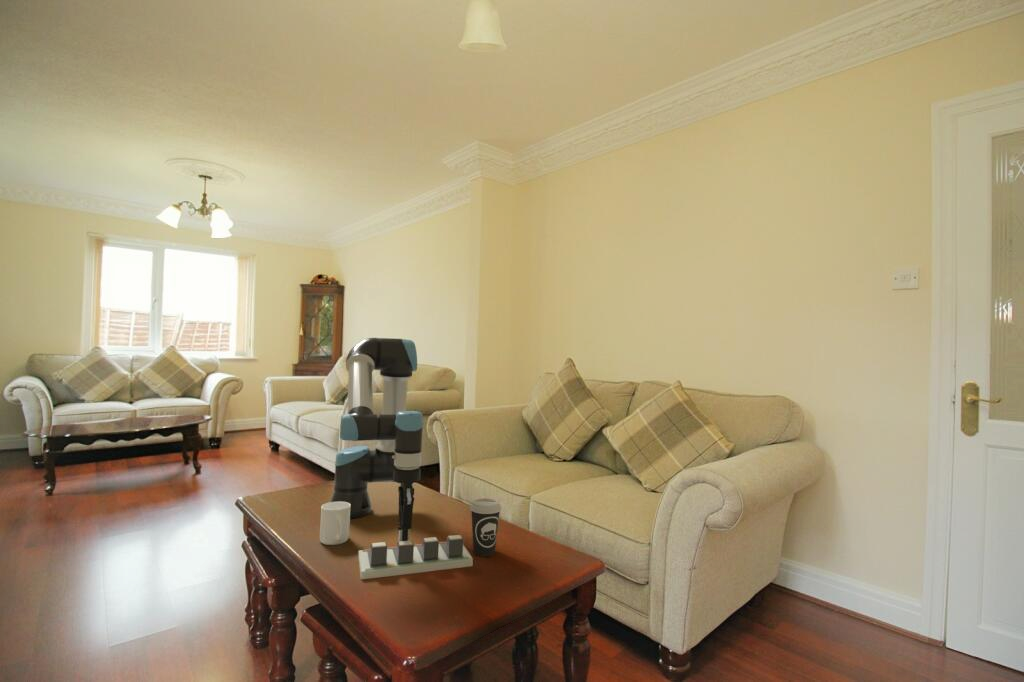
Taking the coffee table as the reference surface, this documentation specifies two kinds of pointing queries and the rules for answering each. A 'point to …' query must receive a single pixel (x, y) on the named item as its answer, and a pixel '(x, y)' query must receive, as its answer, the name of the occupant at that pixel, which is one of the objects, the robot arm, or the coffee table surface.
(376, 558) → the block
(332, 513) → the mug
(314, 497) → the coffee table surface
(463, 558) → the panel
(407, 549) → the block
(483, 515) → the coffee cup
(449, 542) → the block
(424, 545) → the block
